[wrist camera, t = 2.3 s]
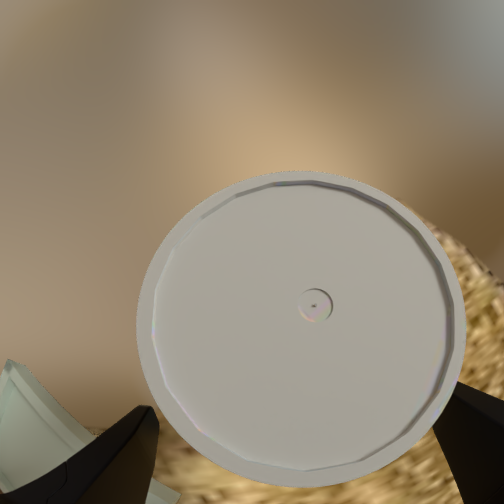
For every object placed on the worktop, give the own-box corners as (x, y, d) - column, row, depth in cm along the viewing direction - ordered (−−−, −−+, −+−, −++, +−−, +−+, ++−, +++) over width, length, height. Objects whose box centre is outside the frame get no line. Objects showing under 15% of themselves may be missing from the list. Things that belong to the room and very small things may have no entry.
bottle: (238, 439, 15) (150, 531, 2) (218, 343, 19) (119, 193, 6) (341, 413, 16) (514, 402, 3) (315, 321, 19) (390, 145, 6)
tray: (134, 571, 8) (113, 589, 4) (5, 457, 12) (-23, 455, 9) (188, 487, 13) (170, 504, 10) (38, 370, 17) (7, 358, 14)
